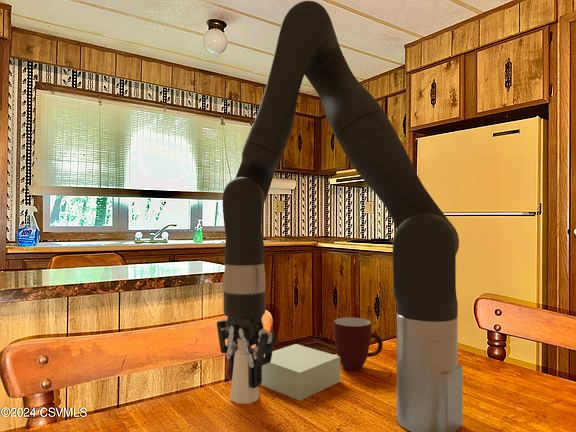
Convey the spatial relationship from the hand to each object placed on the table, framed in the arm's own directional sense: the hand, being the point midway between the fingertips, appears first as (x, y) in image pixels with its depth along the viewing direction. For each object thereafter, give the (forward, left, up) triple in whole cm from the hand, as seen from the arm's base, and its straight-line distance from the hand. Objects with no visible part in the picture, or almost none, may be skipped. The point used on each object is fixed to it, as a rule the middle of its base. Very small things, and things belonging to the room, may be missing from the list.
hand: (244, 381), depth 77 cm
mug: (-6, -27, -3) cm, 28 cm away
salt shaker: (0, 0, -3) cm, 3 cm away
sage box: (-2, -12, -3) cm, 12 cm away
